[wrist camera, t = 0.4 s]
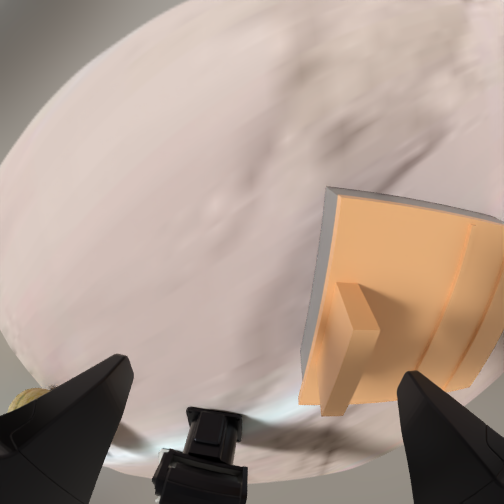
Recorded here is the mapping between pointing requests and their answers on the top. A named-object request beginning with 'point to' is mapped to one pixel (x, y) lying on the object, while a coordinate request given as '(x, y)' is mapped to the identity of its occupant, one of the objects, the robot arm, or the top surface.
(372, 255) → the lid
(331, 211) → the tub
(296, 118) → the top surface
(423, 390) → the robot arm
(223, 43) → the top surface
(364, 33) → the top surface
